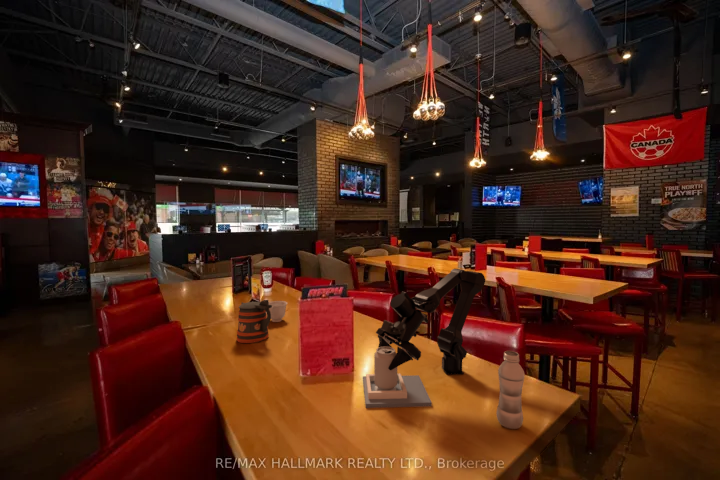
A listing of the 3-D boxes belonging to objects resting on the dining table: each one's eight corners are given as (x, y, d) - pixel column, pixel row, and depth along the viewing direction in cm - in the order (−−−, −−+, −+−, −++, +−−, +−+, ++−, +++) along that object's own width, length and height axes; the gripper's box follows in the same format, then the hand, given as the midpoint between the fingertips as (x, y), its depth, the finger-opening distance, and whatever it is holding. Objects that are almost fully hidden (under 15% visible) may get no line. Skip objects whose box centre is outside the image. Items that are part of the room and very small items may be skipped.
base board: (418, 378, 112) (418, 369, 112) (431, 406, 95) (431, 396, 95) (362, 379, 111) (362, 370, 111) (365, 407, 94) (365, 397, 94)
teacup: (259, 324, 171) (259, 306, 171) (271, 317, 186) (271, 300, 185) (280, 326, 169) (280, 307, 169) (290, 318, 184) (290, 301, 183)
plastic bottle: (491, 418, 89) (493, 349, 88) (514, 417, 90) (516, 348, 89) (504, 433, 83) (505, 358, 82) (528, 432, 83) (530, 358, 82)
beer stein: (282, 336, 153) (281, 296, 152) (261, 347, 140) (260, 303, 139) (252, 331, 161) (251, 292, 160) (229, 340, 148) (229, 298, 147)
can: (387, 394, 97) (387, 356, 97) (369, 385, 103) (369, 349, 102) (402, 385, 103) (402, 349, 102) (384, 377, 108) (384, 343, 107)
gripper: (380, 304, 111) (353, 341, 107) (413, 318, 95) (383, 362, 90) (398, 323, 116) (372, 358, 111) (433, 339, 99) (405, 382, 95)
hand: (382, 364), depth 102 cm, fingers open, 8 cm apart
